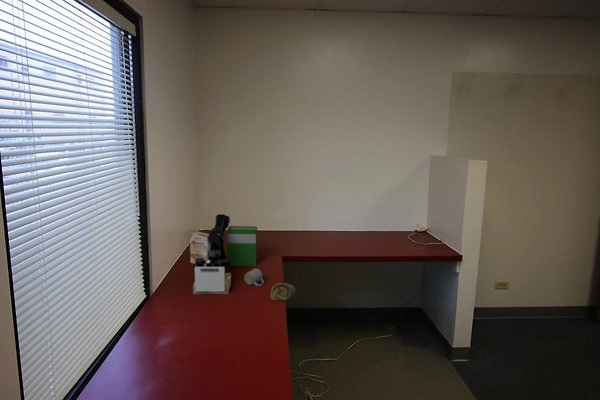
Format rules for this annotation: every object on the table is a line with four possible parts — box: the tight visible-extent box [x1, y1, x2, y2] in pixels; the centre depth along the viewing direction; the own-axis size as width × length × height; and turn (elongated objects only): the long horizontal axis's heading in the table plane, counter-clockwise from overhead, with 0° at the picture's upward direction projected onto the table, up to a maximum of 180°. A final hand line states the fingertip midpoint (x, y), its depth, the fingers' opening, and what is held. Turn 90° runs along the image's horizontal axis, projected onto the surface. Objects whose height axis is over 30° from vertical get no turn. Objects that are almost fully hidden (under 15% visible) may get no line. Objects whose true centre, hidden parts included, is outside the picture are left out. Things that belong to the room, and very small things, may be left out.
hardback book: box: [227, 225, 258, 267], centre depth 234 cm, size 18×7×24 cm, turn 91°
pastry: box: [270, 282, 297, 302], centre depth 191 cm, size 14×12×8 cm
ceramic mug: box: [243, 268, 265, 287], centre depth 205 cm, size 11×8×8 cm
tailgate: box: [194, 266, 226, 291], centre depth 189 cm, size 2×15×13 cm, turn 94°
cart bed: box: [192, 272, 232, 295], centre depth 198 cm, size 13×18×6 cm
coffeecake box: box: [189, 231, 214, 267], centre depth 233 cm, size 15×7×20 cm, turn 62°
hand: (211, 277), depth 195 cm, fingers closed
